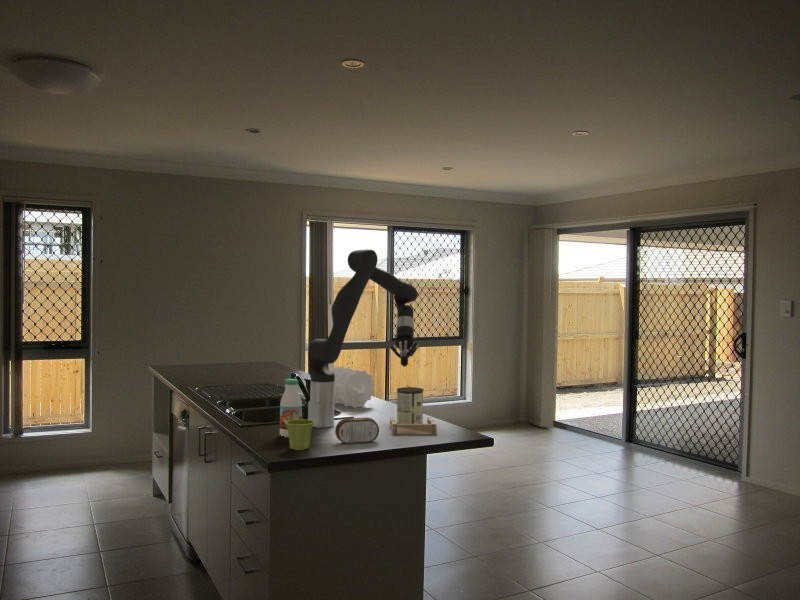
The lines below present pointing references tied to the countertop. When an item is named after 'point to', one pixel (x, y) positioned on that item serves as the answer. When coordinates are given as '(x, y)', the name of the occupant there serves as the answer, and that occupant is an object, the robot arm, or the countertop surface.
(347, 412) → the countertop surface
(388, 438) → the countertop surface
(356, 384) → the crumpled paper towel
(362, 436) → the tin
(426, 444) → the countertop surface
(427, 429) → the wooden tray
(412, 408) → the coffee can
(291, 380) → the milk bottle
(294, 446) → the plant pot
